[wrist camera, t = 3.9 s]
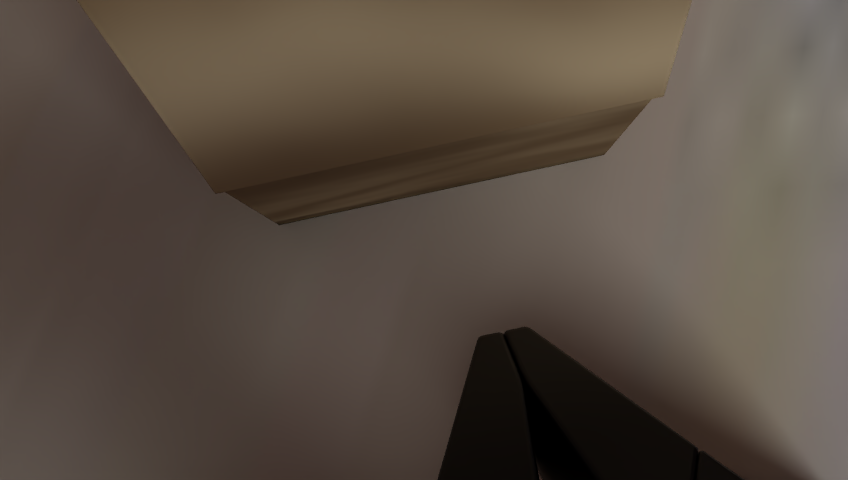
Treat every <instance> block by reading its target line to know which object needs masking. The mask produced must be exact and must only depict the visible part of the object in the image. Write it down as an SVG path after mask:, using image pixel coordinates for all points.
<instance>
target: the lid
mask: <svg viewBox="0 0 848 480" xmlns="http://www.w3.org/2000/svg"><path fill="white" fill-rule="evenodd" d="M77 1H78V3H79V4H80V5H81V7H82V8H83V10H84V11H85V12H86V14H87V15H88V17H89V18H90V19H91V21H92V22H93V24H94V25H95V26H96V28H97V29H98V31H99V32H100V33H101V35H102V36H103V37H104V39H105V40H106V42H107V43H108V44H109V46H110V47H111V49H112V50H113V51H114V53H115V54H116V56H117V57H118V58H119V60H120V61H121V63H122V64H123V65H124V67H125V68H126V70H127V71H128V72H129V74H130V75H131V77H132V78H133V79H134V81H135V82H136V84H137V85H138V86H139V88H140V89H141V91H142V92H143V93H144V95H145V96H146V98H147V99H148V100H149V102H150V103H151V104H152V106H153V107H154V109H155V110H156V111H157V113H158V114H159V116H160V117H161V118H162V120H163V121H164V123H165V124H166V125H167V127H168V128H169V130H170V131H171V132H172V134H173V135H174V137H175V138H176V139H177V141H178V142H179V144H180V145H181V146H182V148H183V149H184V151H185V152H186V153H187V155H188V156H189V158H190V159H191V160H192V162H193V163H194V165H195V166H196V167H197V169H198V170H199V171H200V173H201V174H202V176H203V177H204V178H205V180H206V181H207V183H208V184H209V185H210V187H211V188H212V190H213V191H214V192H215V194H217V193H221V192H226V191H230V190H235V189H240V188H244V187H249V186H253V185H258V184H263V183H267V182H272V181H276V180H281V179H286V178H290V177H295V176H299V175H304V174H309V173H313V172H318V171H322V170H327V169H332V168H336V167H341V166H345V165H350V164H355V163H359V162H364V161H368V160H373V159H378V158H382V157H387V156H391V155H396V154H401V153H405V152H410V151H414V150H419V149H424V148H428V147H433V146H437V145H442V144H447V143H451V142H456V141H460V140H465V139H470V138H474V137H479V136H483V135H488V134H493V133H497V132H502V131H506V130H511V129H516V128H520V127H525V126H529V125H534V124H539V123H543V122H548V121H552V120H557V119H562V118H566V117H571V116H575V115H580V114H585V113H589V112H594V111H598V110H603V109H608V108H612V107H617V106H621V105H626V104H631V103H635V102H640V101H644V100H649V99H654V98H658V97H663V96H664V93H665V90H666V87H667V83H668V80H669V76H670V73H671V70H672V66H673V63H674V60H675V56H676V53H677V49H678V46H679V43H680V39H681V36H682V32H683V29H684V26H685V22H686V19H687V15H688V12H689V9H690V5H691V2H692V0H77Z"/></svg>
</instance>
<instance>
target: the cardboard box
mask: <svg viewBox="0 0 848 480" xmlns="http://www.w3.org/2000/svg"><path fill="white" fill-rule="evenodd" d="M650 101H651V99H649V100H644V101H640V102H635V103H631V104H626V105H621V106H617V107H612V108H608V109H603V110H598V111H594V112H589V113H585V114H580V115H575V116H571V117H566V118H562V119H557V120H552V121H548V122H543V123H539V124H534V125H529V126H525V127H520V128H516V129H511V130H506V131H502V132H497V133H493V134H488V135H483V136H479V137H474V138H470V139H465V140H460V141H456V142H451V143H447V144H442V145H437V146H433V147H428V148H424V149H419V150H414V151H410V152H405V153H401V154H396V155H391V156H387V157H382V158H378V159H373V160H368V161H364V162H359V163H355V164H350V165H345V166H341V167H336V168H332V169H327V170H322V171H318V172H313V173H309V174H304V175H299V176H295V177H290V178H286V179H281V180H276V181H272V182H267V183H263V184H258V185H253V186H249V187H244V188H240V189H235V190H230V191H226V193H228V194H229V195H231V196H233V197H234V198H236V199H238V200H239V201H241V202H242V203H244V204H246V205H247V206H249V207H251V208H252V209H254V210H256V211H257V212H259V213H260V214H262V215H264V216H265V217H267V218H269V219H270V220H272V221H274V222H275V223H277V224H278V225H281V224H286V223H290V222H295V221H300V220H304V219H309V218H314V217H318V216H323V215H328V214H332V213H337V212H341V211H346V210H351V209H355V208H360V207H365V206H369V205H374V204H378V203H383V202H388V201H392V200H397V199H402V198H406V197H411V196H416V195H420V194H425V193H429V192H434V191H439V190H443V189H448V188H453V187H457V186H462V185H467V184H471V183H476V182H480V181H485V180H490V179H494V178H499V177H504V176H508V175H513V174H517V173H522V172H527V171H531V170H536V169H541V168H545V167H550V166H555V165H559V164H564V163H568V162H573V161H578V160H582V159H587V158H592V157H596V156H601V155H604V154H605V153H606V152H607V151H608V150H609V148H610V147H611V146H612V145H613V144H614V143H615V141H616V140H617V139H618V138H619V137H620V136H621V134H622V133H623V132H624V131H625V130H626V129H627V127H628V126H629V125H630V124H631V123H632V122H633V120H634V119H635V118H636V117H637V116H638V115H639V113H640V112H641V111H642V110H643V109H644V108H645V106H646V105H647V104H648V103H649V102H650Z"/></svg>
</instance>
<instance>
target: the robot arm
mask: <svg viewBox="0 0 848 480" xmlns="http://www.w3.org/2000/svg"><path fill="white" fill-rule="evenodd" d="M538 470H539V473H540V475H541V477H542V480H744V479H743V478H741V477H740V476H738V475H737V474H735V473H734V472H732V471H731V470H729V469H728V468H727V467H725V466H724V465H722V464H721V463H720V462H718V461H717V460H715V459H714V458H713V457H711V456H710V455H708V454H707V453H706V452H704V451H700V452H699V453H698V448H697V447H696V446H694V445H693V444H692V443H690V442H689V441H687V440H686V439H685V438H683V437H682V436H680V435H679V434H678V433H676V432H675V431H673V430H672V429H671V428H669V427H668V426H666V425H665V424H664V423H662V422H661V421H659V420H658V419H657V418H655V417H654V416H652V415H651V414H650V413H648V412H647V411H645V410H644V409H643V408H641V407H640V406H638V405H637V404H635V403H634V402H633V401H631V400H630V399H628V398H627V397H626V396H624V395H623V394H621V393H620V392H619V391H617V390H616V389H614V388H613V387H612V386H610V385H609V384H607V383H606V382H605V381H603V380H602V379H600V378H599V377H598V376H596V375H595V374H593V373H592V372H591V371H589V370H588V369H586V368H585V367H584V366H582V365H581V364H579V363H578V362H577V361H575V360H574V359H572V358H571V357H570V356H568V355H567V354H565V353H564V352H563V351H561V350H560V349H558V348H557V347H556V346H554V345H553V344H551V343H550V342H549V341H547V340H546V339H544V338H543V337H542V336H540V335H539V334H537V333H536V332H535V331H533V330H532V329H530V328H528V327H521V328H516V329H512V330H507V331H506V332H505V333H504V335H503V334H502V333H500V332H497V333H493V334H488V335H483V336H480V337H479V338H478V340H477V343H476V346H475V350H474V353H473V357H472V360H471V364H470V367H469V371H468V374H467V378H466V381H465V385H464V388H463V392H462V395H461V399H460V402H459V406H458V409H457V413H456V416H455V420H454V423H453V427H452V430H451V434H450V437H449V441H448V444H447V448H446V451H445V455H444V458H443V462H442V465H441V469H440V472H439V476H438V479H437V480H539V475H538Z"/></svg>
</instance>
